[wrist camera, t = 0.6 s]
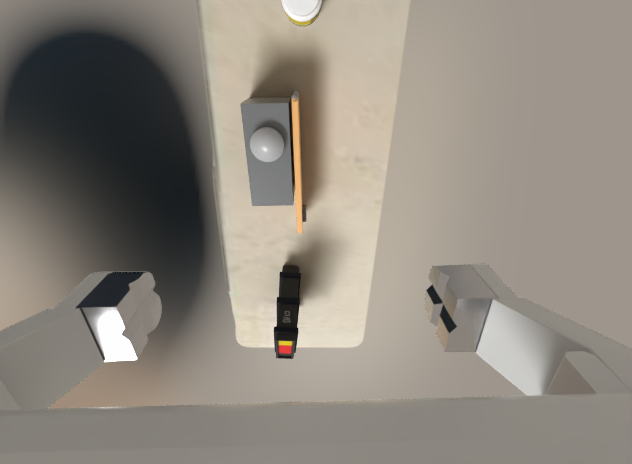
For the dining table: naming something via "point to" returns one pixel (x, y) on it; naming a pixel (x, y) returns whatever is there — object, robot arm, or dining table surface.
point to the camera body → (269, 150)
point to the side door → (298, 162)
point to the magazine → (287, 312)
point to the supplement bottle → (302, 11)
